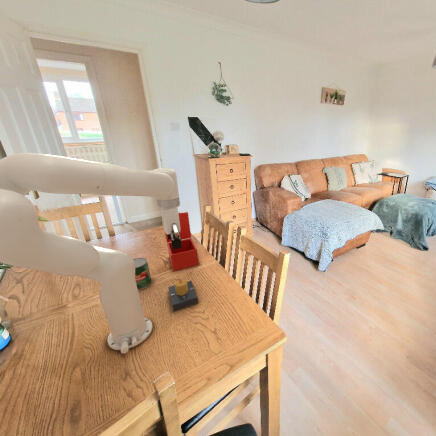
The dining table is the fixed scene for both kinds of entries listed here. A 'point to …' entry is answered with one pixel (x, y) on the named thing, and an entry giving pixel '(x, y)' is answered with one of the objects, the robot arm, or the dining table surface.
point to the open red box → (183, 255)
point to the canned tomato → (142, 273)
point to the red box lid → (183, 227)
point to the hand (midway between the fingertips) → (174, 243)
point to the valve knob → (181, 287)
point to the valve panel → (183, 297)
